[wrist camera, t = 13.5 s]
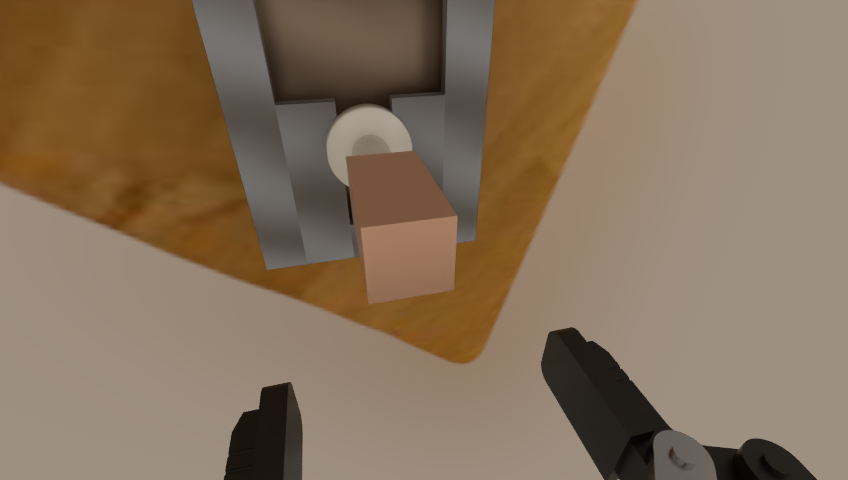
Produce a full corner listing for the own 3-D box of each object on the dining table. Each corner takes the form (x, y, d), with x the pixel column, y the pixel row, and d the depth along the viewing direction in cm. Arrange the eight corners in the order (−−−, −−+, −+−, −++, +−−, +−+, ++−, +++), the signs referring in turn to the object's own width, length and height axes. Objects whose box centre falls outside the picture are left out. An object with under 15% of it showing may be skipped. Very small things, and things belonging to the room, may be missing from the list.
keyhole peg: (320, 106, 20) (329, 207, 11) (406, 100, 21) (484, 189, 12) (331, 186, 23) (347, 325, 13) (408, 179, 24) (473, 303, 14)
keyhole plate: (177, -144, 17) (141, -181, 14) (470, -127, 20) (507, -153, 17) (272, 232, 28) (266, 269, 25) (455, 210, 31) (475, 240, 27)
